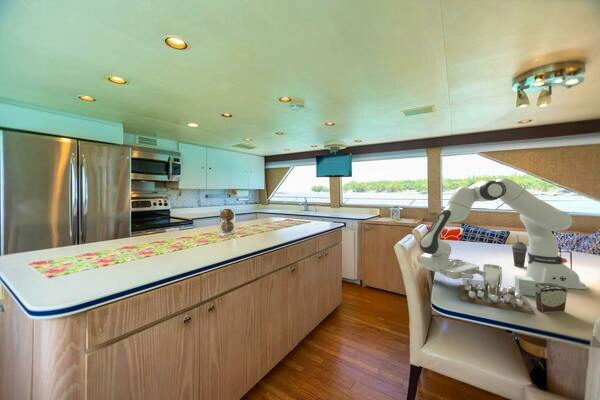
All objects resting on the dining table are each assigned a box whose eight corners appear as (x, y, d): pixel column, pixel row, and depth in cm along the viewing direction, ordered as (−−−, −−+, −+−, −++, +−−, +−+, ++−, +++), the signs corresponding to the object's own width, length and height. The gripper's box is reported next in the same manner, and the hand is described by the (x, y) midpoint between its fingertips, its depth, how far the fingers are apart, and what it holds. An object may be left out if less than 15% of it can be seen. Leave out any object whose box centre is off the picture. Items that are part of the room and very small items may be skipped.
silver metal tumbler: (505, 302, 106) (506, 269, 106) (487, 301, 108) (487, 268, 107) (496, 295, 113) (496, 264, 112) (479, 294, 114) (479, 263, 114)
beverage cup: (521, 268, 150) (522, 236, 149) (508, 265, 157) (509, 234, 156) (529, 267, 152) (530, 235, 151) (516, 264, 159) (517, 233, 158)
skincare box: (530, 291, 117) (530, 276, 117) (535, 296, 112) (536, 281, 111) (514, 289, 120) (514, 274, 119) (518, 294, 114) (519, 279, 114)
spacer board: (522, 296, 112) (522, 294, 112) (533, 314, 96) (533, 311, 96) (459, 286, 124) (459, 284, 124) (461, 300, 109) (461, 298, 109)
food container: (551, 304, 104) (552, 281, 103) (568, 311, 98) (568, 287, 97) (524, 305, 103) (524, 282, 103) (538, 312, 97) (539, 288, 97)
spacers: (517, 296, 112) (517, 287, 112) (527, 312, 98) (527, 302, 97) (464, 287, 123) (464, 279, 123) (465, 301, 108) (465, 292, 108)
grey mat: (491, 282, 129) (491, 282, 129) (495, 291, 118) (495, 290, 118) (462, 278, 135) (462, 278, 135) (463, 285, 125) (463, 285, 125)
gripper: (436, 264, 123) (465, 272, 111) (461, 258, 132) (490, 265, 119) (436, 276, 123) (465, 286, 111) (461, 270, 132) (490, 278, 120)
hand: (478, 275), depth 115 cm, fingers open, 8 cm apart
